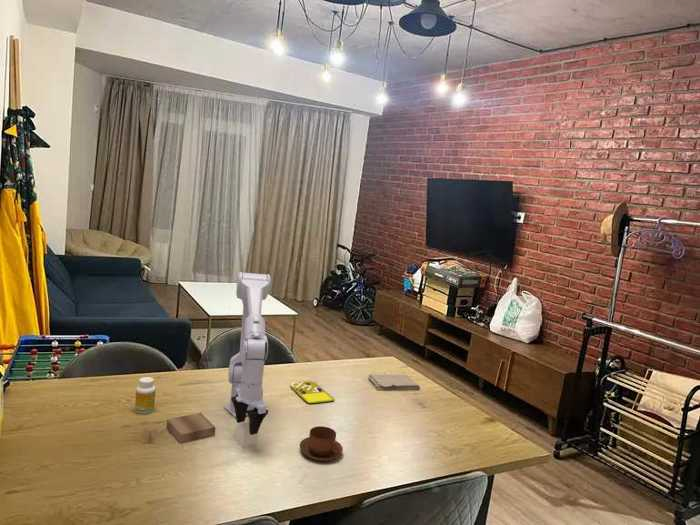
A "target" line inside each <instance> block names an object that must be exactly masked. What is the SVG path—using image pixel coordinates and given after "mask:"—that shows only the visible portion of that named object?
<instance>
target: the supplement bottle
mask: <svg viewBox="0 0 700 525" xmlns="http://www.w3.org/2000/svg"><path fill="white" fill-rule="evenodd" d="M138 381H139V382H138V386H137V387H136V389H135V404H134V411H135V413H137V414H141V415H142V414H145V415H146V414H150V413H152V412H153V411H154V410H155V399H156V386H155V385H154V378H153V377H150V376H145V377H141V378H140V379H139V380H138Z"/></svg>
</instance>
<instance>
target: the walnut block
mask: <svg viewBox="0 0 700 525" xmlns="http://www.w3.org/2000/svg"><path fill="white" fill-rule="evenodd" d="M166 429H167V430H168V431H169V433H170V434H171V435H172V436H173V437H174V439H176V441H177V442H178V443H179V444H181V445H182V444H183V443H190V442H193V441H198V440H202V439H206V438H210V437H215V435H216V426H215V425H214V424H213V423H212V422H211V421H210V420H209V419H208V418H207V417H206V416H205V415H204V414H203V413H202V412H198V413H192V414H186V415H182V416H177V417H176V416H175V417H172V418H167V419H166Z"/></svg>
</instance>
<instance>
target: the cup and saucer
mask: <svg viewBox="0 0 700 525" xmlns="http://www.w3.org/2000/svg"><path fill="white" fill-rule="evenodd" d="M336 437H337V432H336V431H335V430H334V429H332V428H330V427H328V426H322V425H321V426H314V427H312V428H310V431H309V437H305V438H304V439H303V440H301V441H300V443H299V449H300V451H301V452H302V454H304V455H305V456H306V457H308V458H311V459H313V460H314V461H315V460H316V461H324V462H325V461H326V462H327V461H331V460H332V461H333V460H335V459H337V458H339V457H340V456H341V455H342V453H343V448H344V447H343V446H342V444H341V443H340V442H339V441H337V440H336Z"/></svg>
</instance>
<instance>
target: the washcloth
mask: <svg viewBox="0 0 700 525" xmlns="http://www.w3.org/2000/svg"><path fill="white" fill-rule="evenodd" d="M367 380H368V381H369V383H370V384H371V385H372V386H373V388H375V390H377V391H381V392H396V391H397V392H407V391H408V392H410V391H411V392H412V391H413V392H414V391H419V390H420V389H421V386H420V385H419V384H418V383H417V382H415V381H413V379H411V378H410V376H408V375H407V374H373V373H371V374H368V377H367Z"/></svg>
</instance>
